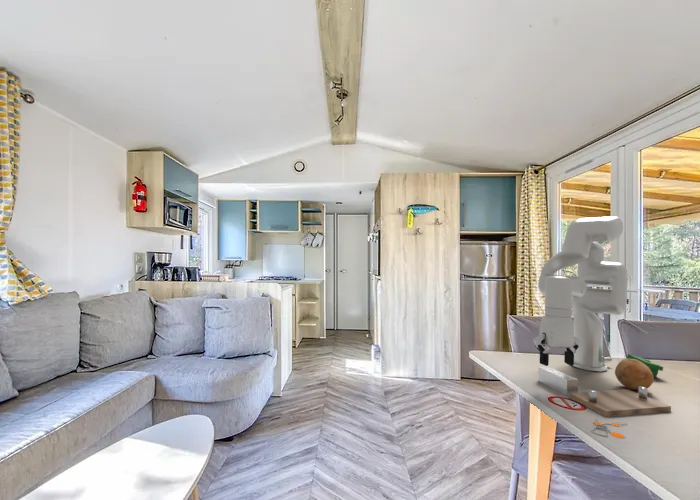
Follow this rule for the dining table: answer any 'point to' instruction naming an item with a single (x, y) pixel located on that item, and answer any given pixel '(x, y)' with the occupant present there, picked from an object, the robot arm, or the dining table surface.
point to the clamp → (647, 364)
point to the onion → (633, 374)
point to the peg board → (620, 402)
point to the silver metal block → (558, 380)
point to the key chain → (602, 427)
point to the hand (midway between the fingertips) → (556, 364)
